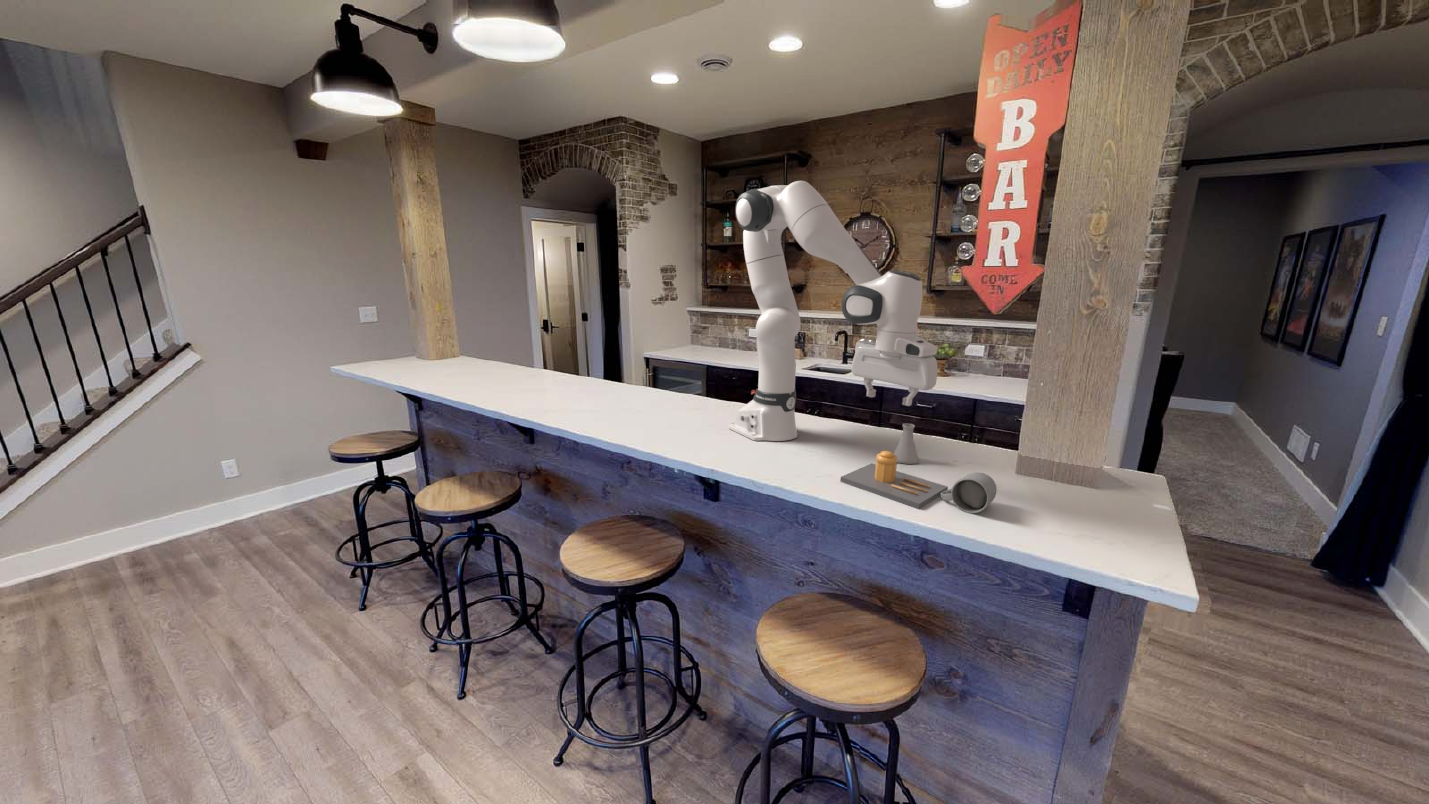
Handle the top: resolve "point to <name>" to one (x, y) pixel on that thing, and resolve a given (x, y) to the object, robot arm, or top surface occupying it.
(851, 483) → the plate
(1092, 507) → the top surface
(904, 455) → the flask
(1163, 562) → the top surface
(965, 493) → the ceramic mug
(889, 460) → the wire nut
